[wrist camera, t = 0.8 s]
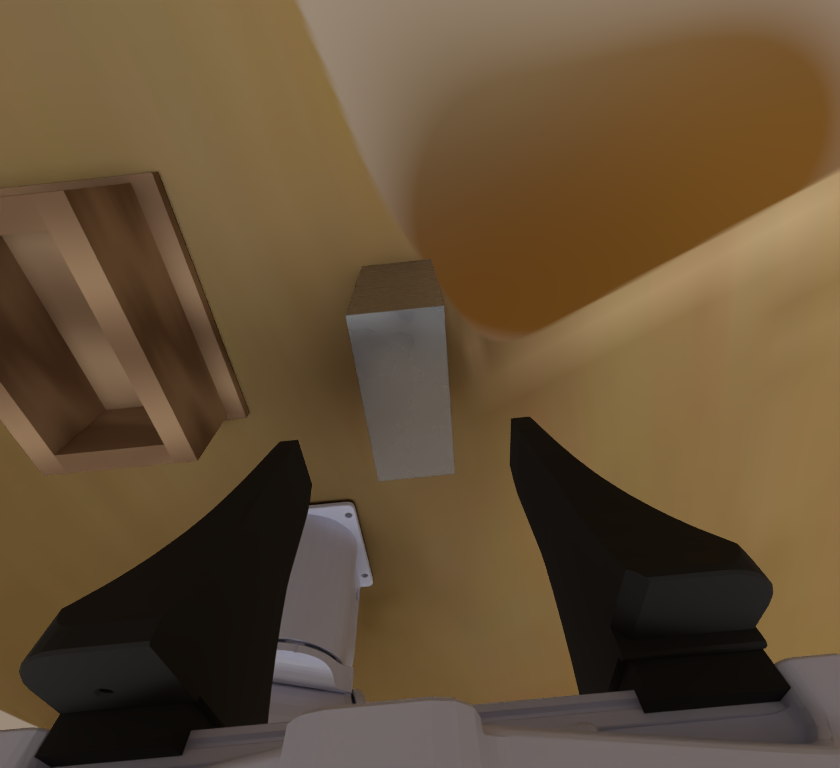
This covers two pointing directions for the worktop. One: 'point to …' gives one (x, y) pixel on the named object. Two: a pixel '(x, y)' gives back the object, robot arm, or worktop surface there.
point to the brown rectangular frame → (106, 329)
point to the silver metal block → (403, 368)
